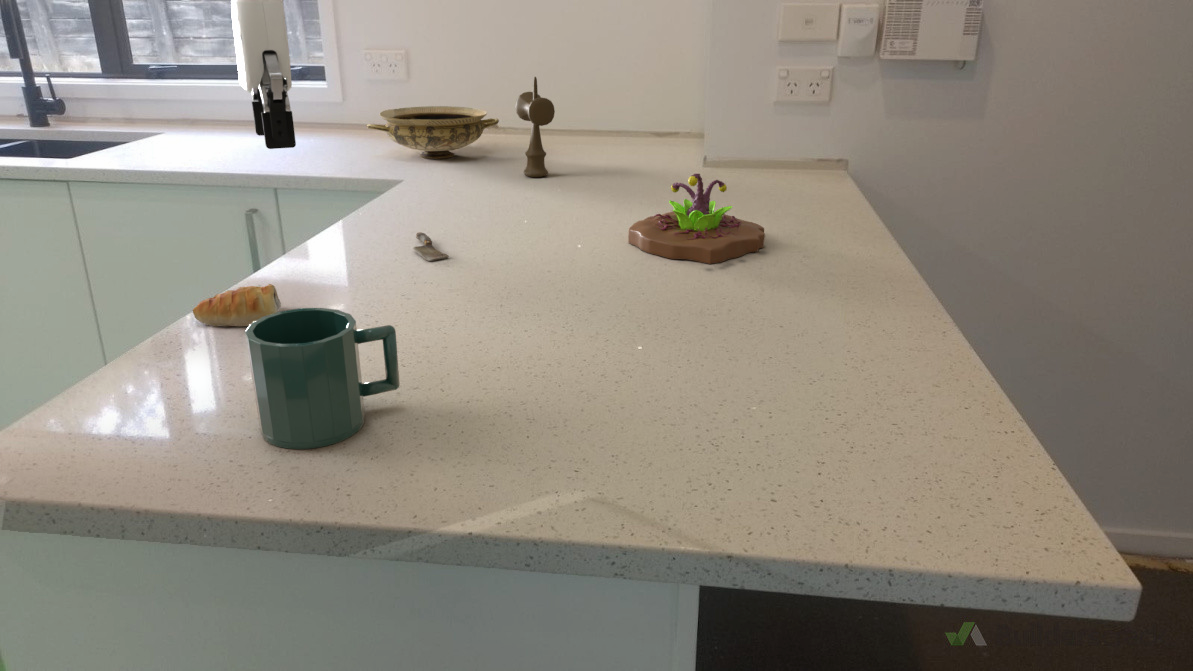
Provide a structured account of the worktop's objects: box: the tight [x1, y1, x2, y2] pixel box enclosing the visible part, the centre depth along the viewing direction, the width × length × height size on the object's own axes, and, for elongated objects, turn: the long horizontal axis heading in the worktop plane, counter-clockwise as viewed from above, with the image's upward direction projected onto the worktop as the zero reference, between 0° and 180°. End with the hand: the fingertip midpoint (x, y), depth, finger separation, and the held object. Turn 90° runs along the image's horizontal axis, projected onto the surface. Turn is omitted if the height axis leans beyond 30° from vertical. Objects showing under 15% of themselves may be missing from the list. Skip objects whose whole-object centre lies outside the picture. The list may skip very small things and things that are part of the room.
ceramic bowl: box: [366, 105, 499, 159], centre depth 192 cm, size 30×24×10 cm
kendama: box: [515, 76, 556, 178], centre depth 172 cm, size 6×10×20 cm, turn 21°
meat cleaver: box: [412, 231, 449, 262], centre depth 125 cm, size 12×1×5 cm
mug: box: [244, 307, 401, 450], centre depth 74 cm, size 12×9×10 cm
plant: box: [627, 173, 766, 265], centre depth 129 cm, size 20×20×11 cm
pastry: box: [192, 283, 282, 328], centre depth 97 cm, size 9×7×4 cm
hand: (275, 140), depth 99 cm, fingers open, 9 cm apart
